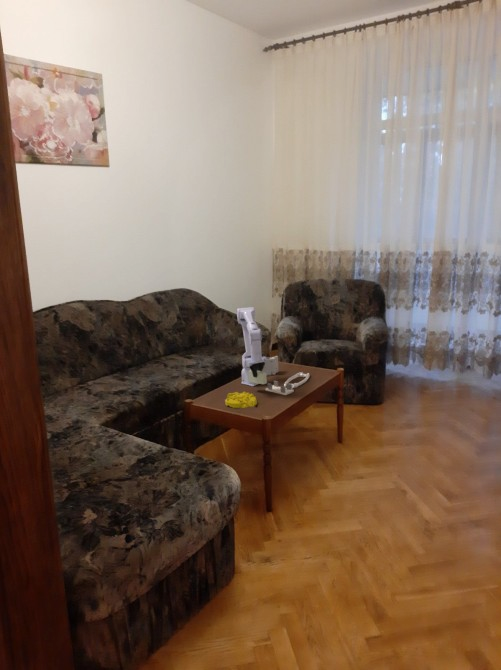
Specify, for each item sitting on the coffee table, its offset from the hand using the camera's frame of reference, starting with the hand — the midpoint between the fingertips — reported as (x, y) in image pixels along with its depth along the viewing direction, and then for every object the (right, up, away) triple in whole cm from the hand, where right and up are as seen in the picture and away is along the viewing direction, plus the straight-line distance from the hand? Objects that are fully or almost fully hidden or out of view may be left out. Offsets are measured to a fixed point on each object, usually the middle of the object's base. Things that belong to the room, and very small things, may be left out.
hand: (257, 376), depth 270 cm
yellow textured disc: (-9, -13, -12) cm, 20 cm away
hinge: (+7, -1, +33) cm, 34 cm away
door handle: (+23, -5, +16) cm, 28 cm away
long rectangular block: (0, -3, +1) cm, 3 cm away
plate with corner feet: (+12, -8, +1) cm, 15 cm away
